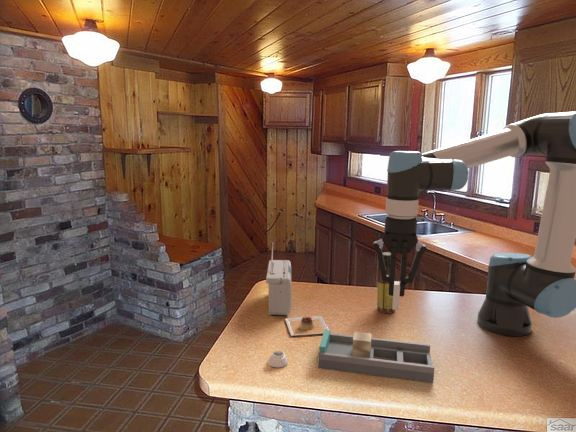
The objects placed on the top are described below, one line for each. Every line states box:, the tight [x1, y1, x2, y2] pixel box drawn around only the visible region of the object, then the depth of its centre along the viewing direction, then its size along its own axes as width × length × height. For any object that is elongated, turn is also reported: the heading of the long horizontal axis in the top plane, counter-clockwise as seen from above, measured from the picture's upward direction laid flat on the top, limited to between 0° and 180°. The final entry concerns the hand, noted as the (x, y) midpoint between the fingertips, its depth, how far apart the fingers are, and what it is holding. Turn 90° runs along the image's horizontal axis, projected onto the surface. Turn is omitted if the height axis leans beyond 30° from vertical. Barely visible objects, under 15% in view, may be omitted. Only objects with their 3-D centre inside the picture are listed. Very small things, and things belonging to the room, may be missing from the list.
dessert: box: [284, 313, 330, 337], centre depth 132 cm, size 12×12×5 cm
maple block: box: [352, 331, 372, 358], centre depth 112 cm, size 4×4×4 cm
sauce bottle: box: [376, 251, 397, 314], centre depth 143 cm, size 6×6×20 cm
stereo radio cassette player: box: [265, 242, 292, 317], centre depth 148 cm, size 21×8×20 cm, turn 179°
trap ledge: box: [317, 328, 435, 384], centre depth 112 cm, size 28×12×6 cm, turn 77°
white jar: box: [267, 350, 289, 368], centre depth 112 cm, size 5×3×5 cm
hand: (395, 307), depth 108 cm, fingers closed
